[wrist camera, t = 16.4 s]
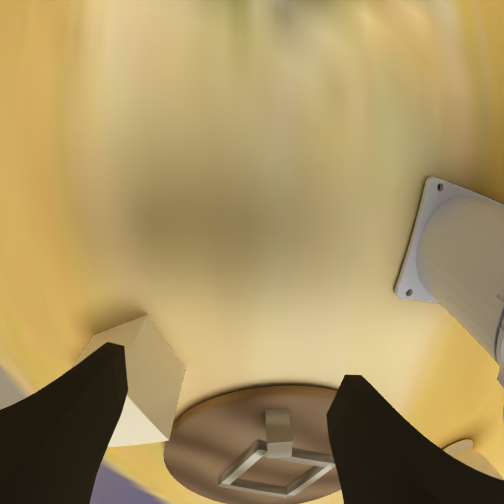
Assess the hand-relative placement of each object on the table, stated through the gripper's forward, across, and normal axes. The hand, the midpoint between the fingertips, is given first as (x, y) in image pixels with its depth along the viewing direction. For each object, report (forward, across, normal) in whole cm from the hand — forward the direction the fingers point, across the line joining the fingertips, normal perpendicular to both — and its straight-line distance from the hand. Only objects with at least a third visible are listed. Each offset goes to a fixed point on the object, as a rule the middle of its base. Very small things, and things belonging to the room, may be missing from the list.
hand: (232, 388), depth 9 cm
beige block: (+9, +7, +8) cm, 14 cm away
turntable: (+9, -6, +18) cm, 21 cm away
